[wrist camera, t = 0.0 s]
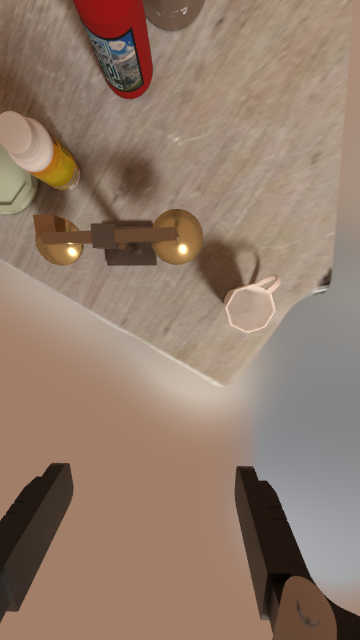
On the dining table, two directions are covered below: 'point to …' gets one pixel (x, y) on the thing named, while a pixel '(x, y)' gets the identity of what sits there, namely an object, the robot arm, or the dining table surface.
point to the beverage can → (119, 43)
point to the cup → (251, 305)
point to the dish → (15, 186)
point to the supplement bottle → (38, 151)
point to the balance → (122, 240)
